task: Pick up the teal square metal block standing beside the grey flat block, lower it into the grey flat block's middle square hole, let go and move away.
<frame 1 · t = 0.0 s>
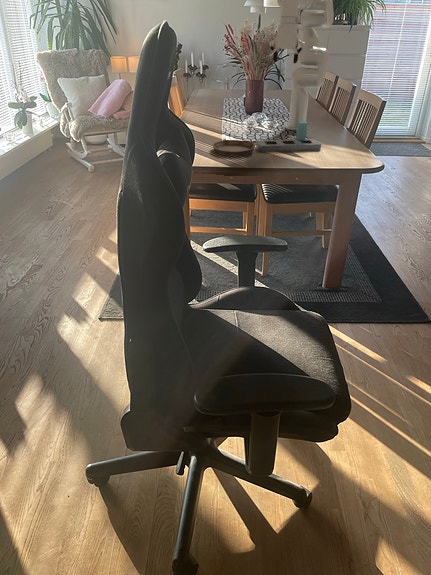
hand: (285, 62, 220), 37 cm above the table, tool pointing down, fingers open, 9 cm apart
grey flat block: (288, 148, 229), on the table
square block: (300, 142, 240), on the table
plant saucer: (233, 152, 224), on the table
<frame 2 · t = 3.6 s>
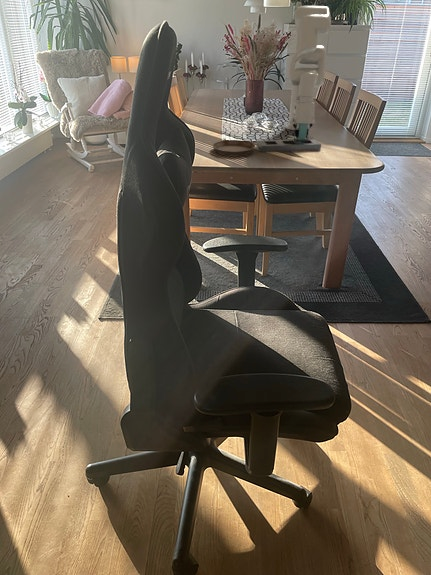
hand: (301, 136, 238), 3 cm above the table, tool pointing down, fingers closed on square block, 4 cm apart
square block: (300, 142, 240), on the table, touching gripper
everything else where it was.
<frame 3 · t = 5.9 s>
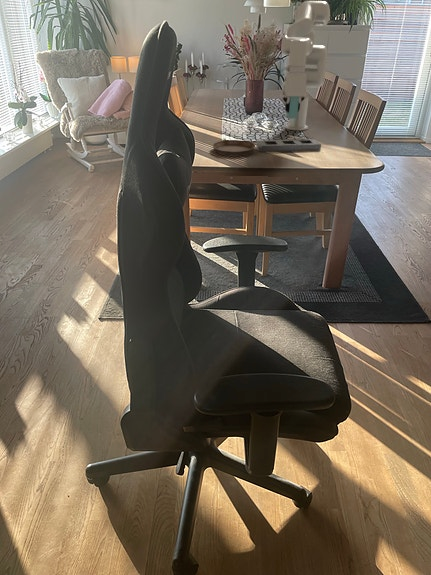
hand: (292, 111, 220), 18 cm above the table, tool pointing down, fingers closed on square block, 4 cm apart
square block: (291, 117, 222), point 15 cm above the table, touching gripper
everything else where it was.
when the fingers open (4 cm above the table, at t = 8.3 s): square block stays where it is, resting in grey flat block.
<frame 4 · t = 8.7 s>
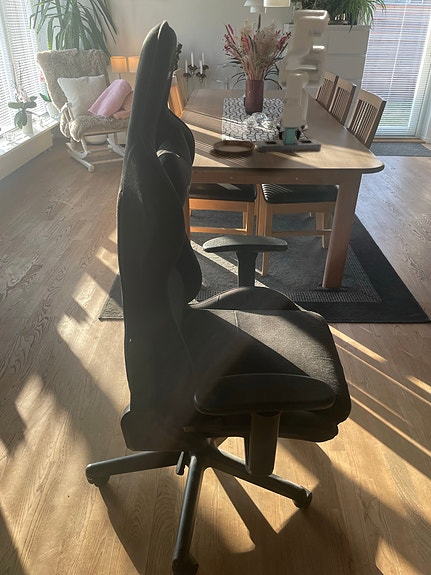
hand: (289, 139, 227), 5 cm above the table, tool pointing down, fingers open, 8 cm apart
square block: (288, 148, 229), resting in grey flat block
everything else where it was.
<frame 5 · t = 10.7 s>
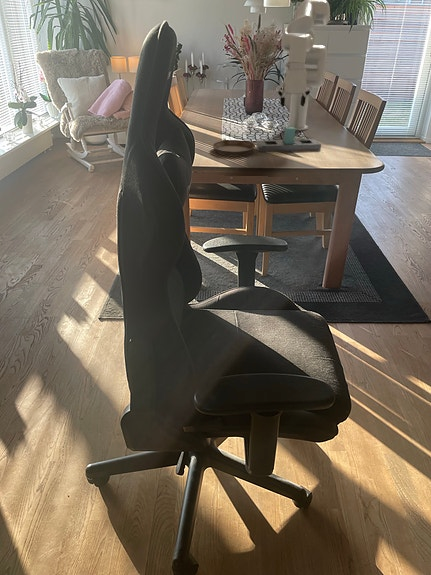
hand: (292, 105, 219), 20 cm above the table, tool pointing down, fingers open, 9 cm apart
nothing on the table moved.
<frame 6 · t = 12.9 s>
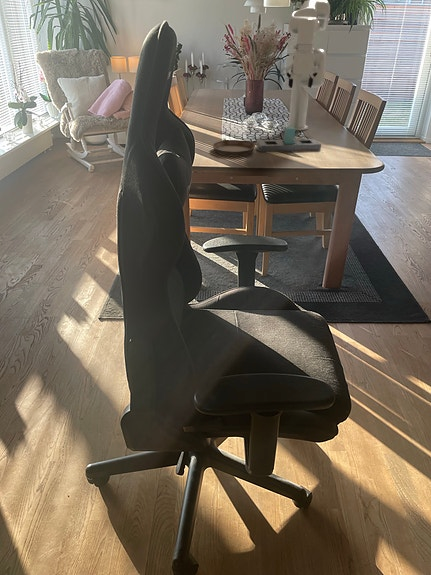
hand: (300, 87, 226), 26 cm above the table, tool pointing down, fingers open, 9 cm apart
nothing on the table moved.
at the end: square block 0.1 cm off-centre on the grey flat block, point 0.0 cm above the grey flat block's base; square block tilted 0°; the gripper is holding nothing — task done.
